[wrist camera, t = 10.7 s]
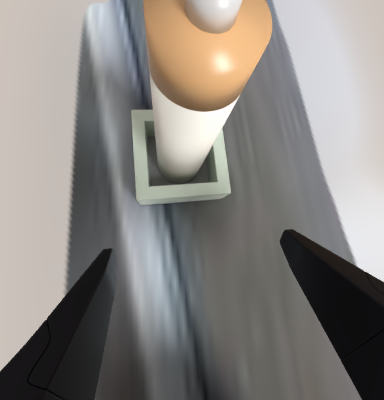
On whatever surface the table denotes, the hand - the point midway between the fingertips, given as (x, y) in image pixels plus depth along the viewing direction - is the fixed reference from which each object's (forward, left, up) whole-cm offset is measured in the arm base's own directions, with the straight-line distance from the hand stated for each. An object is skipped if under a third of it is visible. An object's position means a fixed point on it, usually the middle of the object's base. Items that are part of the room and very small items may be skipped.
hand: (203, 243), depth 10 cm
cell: (+7, 0, -8) cm, 11 cm away
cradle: (+7, 0, -8) cm, 11 cm away
